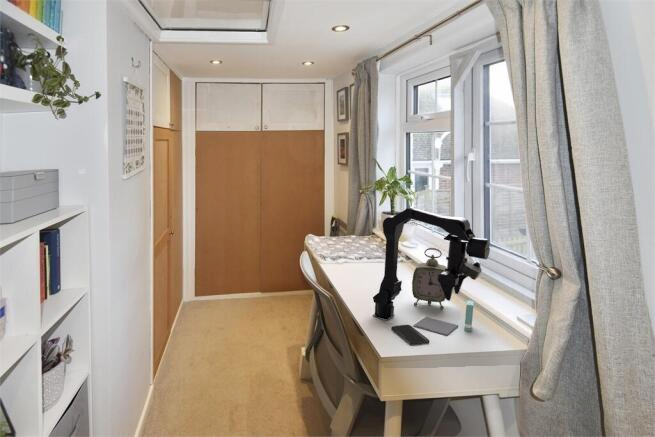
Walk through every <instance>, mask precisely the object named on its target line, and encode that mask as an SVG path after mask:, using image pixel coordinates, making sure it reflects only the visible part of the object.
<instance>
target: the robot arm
mask: <svg viewBox="0 0 655 437" xmlns="http://www.w3.org/2000/svg"><path fill="white" fill-rule="evenodd" d="M411 220H414V221H418V222H421V223H424V224H427V225H430V226H431V225H432V226H434V227H437V228H440V229H442V230H443V231H444V232H446V233H448V234H447V235H446V236H445V237H443V240H444V241H449V242H448V243H449V244H448V254H447V256H446V257H445V260H446V261H447V266H446V268H445V271H448V272H442V273H441V274H439V275H438V279H437V281H438V282H439V283H440V285H441V287H442V289H443V292H444V294H445V297H446V299H445V301H448V302H450V301H451V299H452V295H453V291H454V293H455V294H456V295H458V294H459V293H460V291H461V288H462V285H463V283H464V280H465V279H467V278H468V277H469V278H470V279H471V280H473V281H475V280H476V279H477V278H479V276H480V274H481V273H482V268H481V263H480V262H479V261H476V262H474V263H472V262H468V257H470V258H476V259H481V260H488V258H489V256H490V250H491V247H490V243H489V242H490V241H489V238H479V237H476V235H475V234H474V232H473V230H472V228H471V223H470V221H469V220H468V219H467V218H466V217H461V216H460V217H459V216H445V215H441V214H438V213H436V212H435V213H434V212H431V211H427V210H423V209H419V208H417V207H416V206H410V207H406V208H405V209H404V210H402V211H401V212H399V213H397V214H395V215H393V216H388V217H386V218H384V219H383V221H382V231H383V232H382V233H383V235H384V237H385V256H384V258H385V259H384V274H383V277H382V280H381V282H380V284H379V290H378V293H377V294H376V293H375V295H374V296H372V299H373V300H372V301H373V303H374V304H375V305H374V314H372V317H374V318H378V319H382V320H385V321H387V320H389V319H391V318H393V317H394V316H395V306H394V301H393V300H395V299H396V297H398V296H399V295H400V292H401V291H402V290H403V289H402V283H403V281H402V280H399V278H398V259H399V240H400V239H401V236H402V234H403V230H404V226H405V224H407V223H408V222H410V221H411ZM466 255H468V257H467V256H466Z"/></svg>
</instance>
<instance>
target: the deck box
mask: <svg viewBox="0 0 655 437" xmlns="http://www.w3.org/2000/svg"><path fill="white" fill-rule="evenodd" d="M474 307H475V306H474V301H473V300H466V303H465V317H464V328H463V331H464V332H472V327H473V315H474Z"/></svg>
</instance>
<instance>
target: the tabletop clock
mask: <svg viewBox="0 0 655 437" xmlns="http://www.w3.org/2000/svg"><path fill="white" fill-rule="evenodd" d="M430 250H431V251H432V250H434V251H438V252H439V255H438V256H435V255H434V254H431V255H429V254H427V253H426V252H427V251H430ZM423 252H424V256H426V257H427V258H428V259H427V260H426V262H420V263H417V264H416V267H415V269H414V272H413V274H412V281H411V290H412V292H411V293H412V295H413V298H415V299H416V302H414V303H413V306H414V307H417V306H418V303H419V302H420V301H424V302H427V305H432V303H439V309H440V310H442V311H443V310H444V309H445V308H444V306H443V304H442V302H445V301H446V297H445V294H444V292H443V289H442V287H441V285H440V283H439V282H438V281H437V279H438V275H439V274H441V273H442V272H448V271H445V268H446V267H447V266H446V265H443V264H439V261H438V260H437V259H439V258H441V257H442V254H443V253H442V251H441V250H440V249H438V248H435V247H427V249H425V250H424V251H423Z"/></svg>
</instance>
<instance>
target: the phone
mask: <svg viewBox="0 0 655 437" xmlns="http://www.w3.org/2000/svg"><path fill="white" fill-rule="evenodd" d="M390 329H391V331H392V332H394V333H395V334H396V335H397V336H398V337H400V339H402V340H403V341H404V342H405V343H407V344H408V345H409V346H420V345H425V344H426V345H427V344H428V345H429V344H430V339H429V338H427V337H426V336H425V335H424V334H422V333H421V332H419V331H418V330H417V329H416V328H414V326H412V325H410V324H400V325H392V326H391V327H390Z"/></svg>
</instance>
